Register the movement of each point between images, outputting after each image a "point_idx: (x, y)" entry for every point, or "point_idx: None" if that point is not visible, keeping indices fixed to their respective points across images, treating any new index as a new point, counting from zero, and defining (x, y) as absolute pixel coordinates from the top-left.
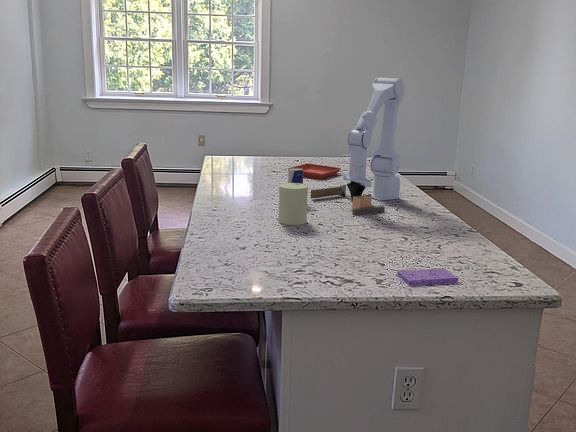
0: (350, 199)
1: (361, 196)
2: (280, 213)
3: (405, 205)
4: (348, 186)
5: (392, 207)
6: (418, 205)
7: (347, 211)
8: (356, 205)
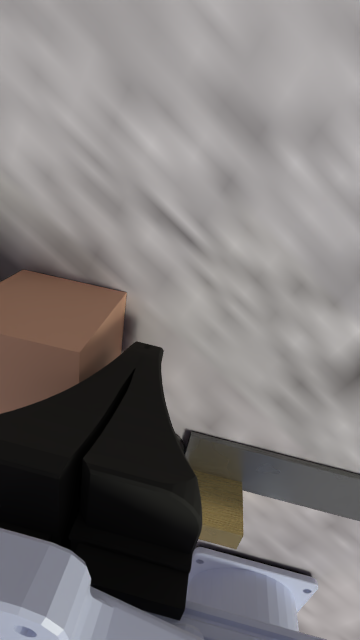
0: (339, 474)
1: None
2: None
3: None
4: (153, 458)
5: None
6: None
7: (81, 198)
8: (49, 298)
